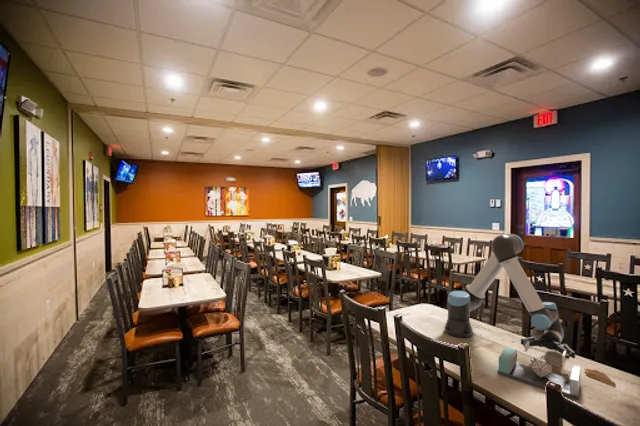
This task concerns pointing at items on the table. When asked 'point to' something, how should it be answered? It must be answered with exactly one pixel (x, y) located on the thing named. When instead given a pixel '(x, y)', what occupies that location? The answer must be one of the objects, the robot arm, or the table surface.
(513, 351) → the block
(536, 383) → the vise bed
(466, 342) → the table surface
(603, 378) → the shard
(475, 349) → the table surface
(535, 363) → the game die
